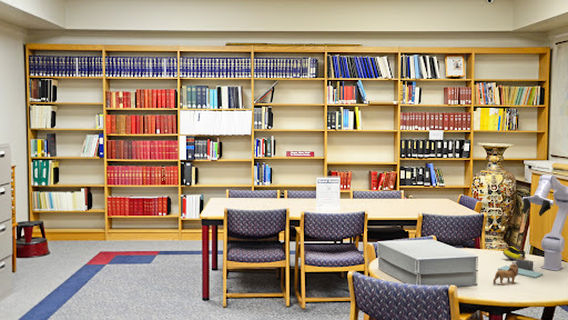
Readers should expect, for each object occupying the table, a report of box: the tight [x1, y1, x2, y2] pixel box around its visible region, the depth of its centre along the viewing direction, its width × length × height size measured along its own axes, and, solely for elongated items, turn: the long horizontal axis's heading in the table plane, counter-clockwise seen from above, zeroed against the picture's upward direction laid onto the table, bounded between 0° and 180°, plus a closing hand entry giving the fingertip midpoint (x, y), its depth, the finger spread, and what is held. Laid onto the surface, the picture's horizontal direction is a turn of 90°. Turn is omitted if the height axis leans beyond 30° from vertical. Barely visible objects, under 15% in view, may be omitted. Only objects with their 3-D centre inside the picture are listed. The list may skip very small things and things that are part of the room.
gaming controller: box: [502, 246, 527, 261], centre depth 304 cm, size 15×6×10 cm
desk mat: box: [497, 265, 544, 279], centre depth 277 cm, size 9×19×1 cm, turn 43°
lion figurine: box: [492, 263, 518, 286], centre depth 257 cm, size 15×5×9 cm, turn 116°
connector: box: [511, 258, 534, 271], centre depth 284 cm, size 4×10×4 cm, turn 43°
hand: (531, 213), depth 264 cm, fingers open, 7 cm apart
